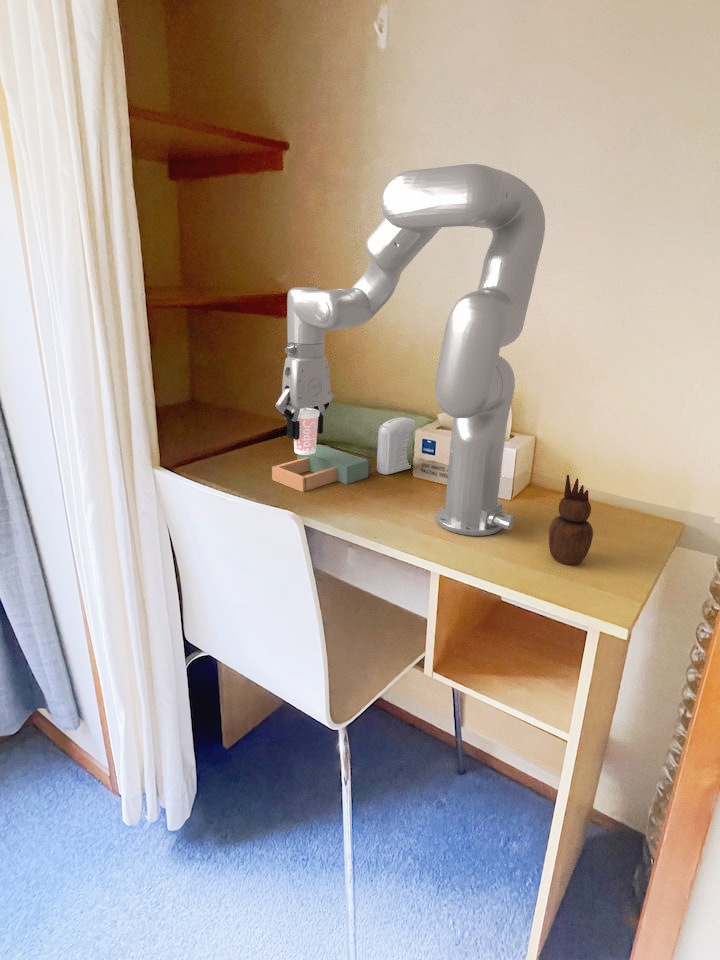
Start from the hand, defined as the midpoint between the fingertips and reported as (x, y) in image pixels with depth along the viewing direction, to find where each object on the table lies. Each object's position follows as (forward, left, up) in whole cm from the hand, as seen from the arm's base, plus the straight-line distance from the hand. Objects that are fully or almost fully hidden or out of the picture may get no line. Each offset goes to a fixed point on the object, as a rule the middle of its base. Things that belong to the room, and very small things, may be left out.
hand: (305, 434), depth 133 cm
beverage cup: (0, 0, -4) cm, 4 cm away
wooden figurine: (-58, -6, -11) cm, 59 cm away
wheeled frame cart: (0, -4, -10) cm, 11 cm away
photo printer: (-9, -20, -11) cm, 24 cm away
